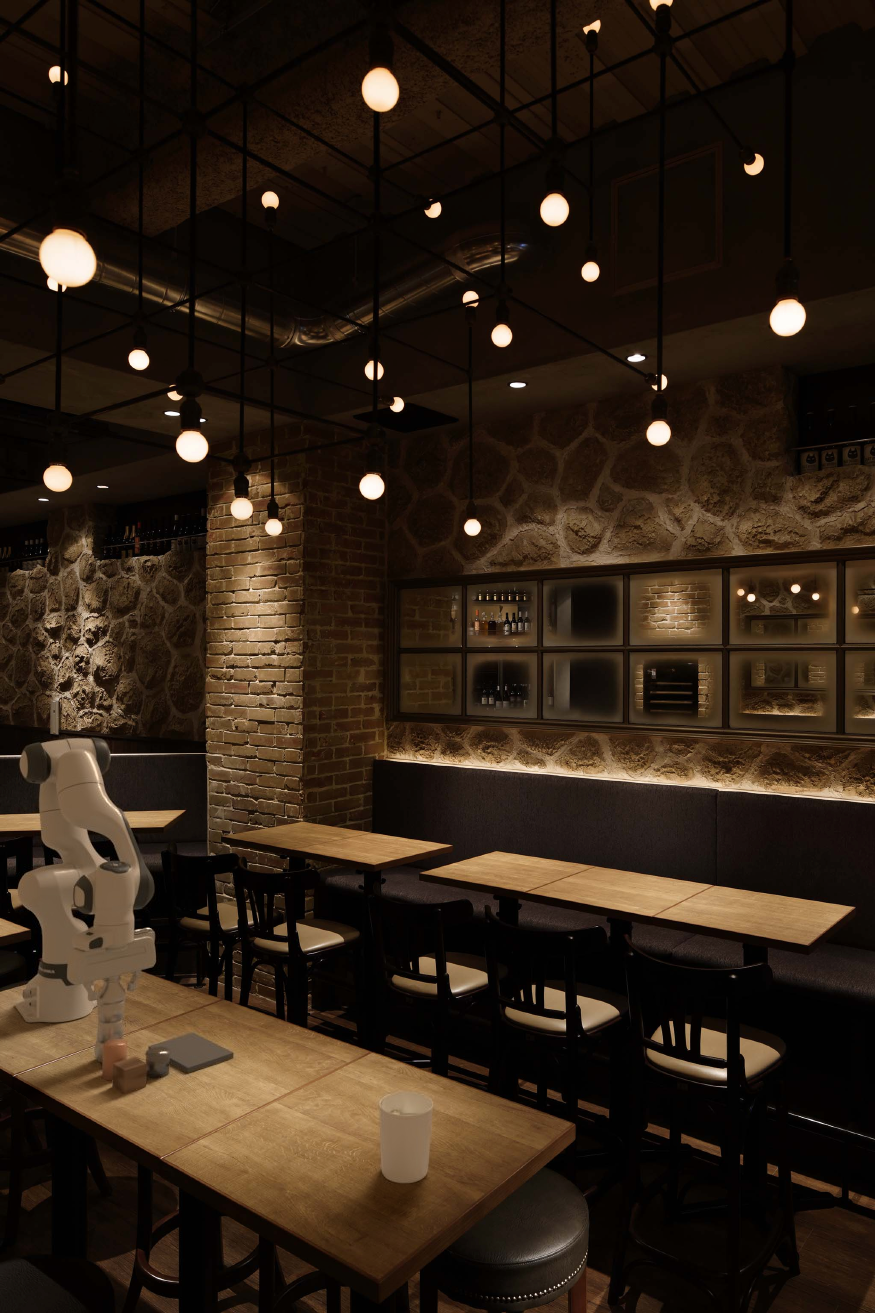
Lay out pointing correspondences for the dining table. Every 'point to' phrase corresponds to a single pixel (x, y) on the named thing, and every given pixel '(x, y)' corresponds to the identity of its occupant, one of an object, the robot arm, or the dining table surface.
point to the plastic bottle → (109, 1013)
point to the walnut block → (129, 1075)
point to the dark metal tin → (157, 1062)
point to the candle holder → (405, 1135)
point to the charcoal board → (194, 1052)
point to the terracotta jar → (113, 1056)
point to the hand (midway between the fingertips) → (112, 995)
